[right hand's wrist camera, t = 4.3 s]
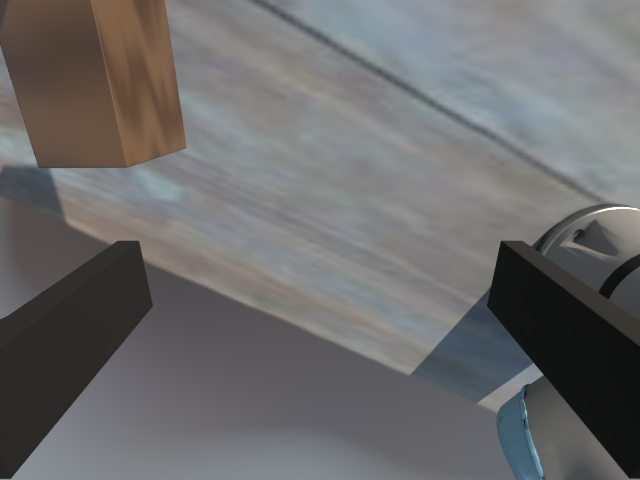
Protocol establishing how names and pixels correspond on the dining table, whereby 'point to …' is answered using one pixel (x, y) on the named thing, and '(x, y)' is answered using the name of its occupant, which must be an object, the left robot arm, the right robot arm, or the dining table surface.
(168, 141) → the bar
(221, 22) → the dining table surface
